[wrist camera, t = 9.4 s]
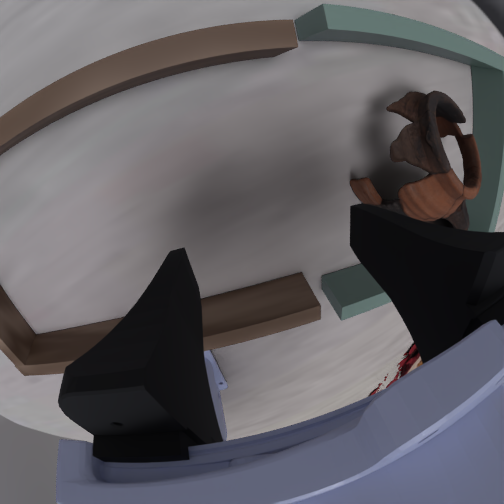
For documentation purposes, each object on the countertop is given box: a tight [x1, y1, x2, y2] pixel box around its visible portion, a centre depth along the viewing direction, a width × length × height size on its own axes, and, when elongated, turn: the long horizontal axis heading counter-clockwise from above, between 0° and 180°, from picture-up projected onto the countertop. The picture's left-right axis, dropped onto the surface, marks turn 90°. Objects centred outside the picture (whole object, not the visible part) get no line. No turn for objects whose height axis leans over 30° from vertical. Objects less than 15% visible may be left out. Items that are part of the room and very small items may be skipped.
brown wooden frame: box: [0, 20, 321, 376], centre depth 15 cm, size 19×28×4 cm
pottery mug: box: [350, 91, 482, 230], centre depth 17 cm, size 12×10×8 cm
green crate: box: [295, 4, 504, 321], centre depth 17 cm, size 21×20×4 cm
